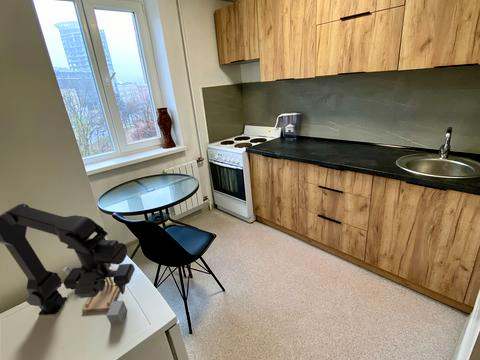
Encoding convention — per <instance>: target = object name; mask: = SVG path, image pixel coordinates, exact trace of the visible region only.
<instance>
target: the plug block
mask: <svg viewBox="0 0 480 360" xmlns="http://www.w3.org/2000/svg"><path fill="white" fill-rule="evenodd" d="M107 311H108V312H106V318H107V320H108V322H109V323H110V325H111V326H115V325H122V324H123V322H124V319H125V317H126V315H127V312H128V309H127V306H126V304H125V301H124V300H116V301H113V302H112V304H111V307H110V309H109V310H107Z"/></svg>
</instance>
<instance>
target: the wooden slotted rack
mask: <svg viewBox="0 0 480 360" xmlns="http://www.w3.org/2000/svg"><path fill="white" fill-rule="evenodd" d="M120 293H121V292H120V290H119V287H118V286H115V283H114V281H113V279H112V277H109V278H105V286H104V290H103V291H100V292H99V293H98V294H97V295H96V296H95V297H88V298H87V299H86V301H85V302H84V305H83V307H82V308H81V311H82V312H83V313H86V312H100V311H109V309H110V307H111V304H112V302H113V301H117V298H118V296H119V294H120Z"/></svg>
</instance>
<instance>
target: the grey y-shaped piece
mask: <svg viewBox="0 0 480 360" xmlns="http://www.w3.org/2000/svg"><path fill="white" fill-rule="evenodd" d="M72 269H73V268H71V267H70V266H65V267H64V268H63V269H62V272H63V273H65V275H66V276H68V274H69V273H70V271H71V270H72Z"/></svg>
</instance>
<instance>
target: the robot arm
mask: <svg viewBox="0 0 480 360" xmlns="http://www.w3.org/2000/svg"><path fill="white" fill-rule="evenodd" d="M28 228H30V229H33V230H37V231H41V232H44V233H48V234H51V235H54V236H56V237H57V238H58V240H59V241H60V243H63V244H65V245H66V248H67V249H68V250H74V252H75V254H76V256H77V258H78V260H79V262H80V264H81V266H80V267H72V268H71V269H72V270H71V271H70V273H69V274H68V275H66V277H65V278H64V280H63V286H64V287H65V289H66V290H74V295H76V296H77V297H79V298H81V299H86V298H87V299H88V297H95V296H96V295H97V294H98V293H99V292H100V291H103V290H104V286H105V283H106V281H105V278H107V279H109V277H111V278H113V279H112V281H113V282H114V283H115V286H118V287H119V290H120V292H119V293H120V294H121V295H124V294H125V291H126V285H128V284H129V283H130V282H131V279H132V277H133V275H134V272H135V265H134V264H133V263H123V262H124V261H125V259H126V257H127V254H128V247H127V244H125V243H124V242H119V241H118V240H116V239H106V236H108V234H109V233H108V232H107V231H106V230H105V229H104V227H102V226H101V225H99V224H98V223H96V221H94V220H93V219H92V218H90V217H88V216H82V215H76V214H75V215H69V216H62V215H58V214H56V213H55V214H54V213H51V212H48V211H44V210H42V209H41V210H40V209H37V208H33V207H30V206H29V205H28V204H25V203H19V204H16V205H15V206H13V207H11V208H10V209H8V210H6V211H4V212H3V213H1V214H0V244H1V245H4V246H5V247H6V249H7V250H8V252H9V253H10V255H11V257H12V258H13V259H14V260H15V262H16V263H17V265H18V267H20V269H21V271H22V272H23V274H24V275H25V277H26V278H27V284H26V290H27V293H28V294H29V295H28V297H27V298H26V300H25V302H26V303H28V304H29V306H35V307H39V309H40V311H39V313H38V315H39V316H49V315H57V314H58V313H59V312H60V310H61V308H62V307H63V306H64V304H65V303H66V301H67V299H68V297H67V296H63V295H62V294H61V293H60V292H59V288H60V287H62V278H61V277H60V276H59V274H58V272H53V271H50V270H48V269H46V267H45V265H44V264H43V262H42V261H41V260H40V258H39V256H38V255H37V253H36V252H35V249H34V248H33V246H32V245H31V244H30V241H29V240H28V239H27V237H26V236H27V229H28ZM95 233H96V234H95ZM94 234H95V235H94ZM93 235H94V236H93ZM91 236H93V237H91ZM112 265H117V266H118V267H117V268H112V269H110V268H111V266H112Z"/></svg>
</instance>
